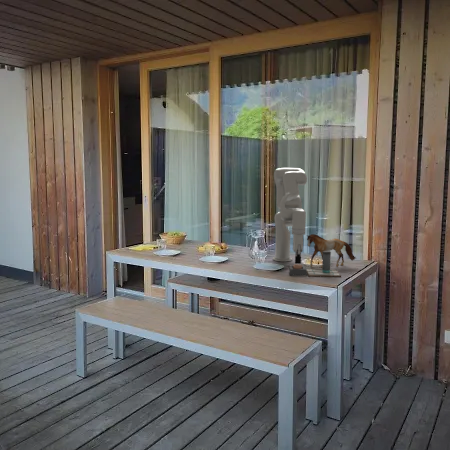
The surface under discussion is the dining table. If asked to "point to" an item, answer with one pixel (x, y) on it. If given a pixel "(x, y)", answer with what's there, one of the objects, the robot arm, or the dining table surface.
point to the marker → (326, 262)
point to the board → (319, 273)
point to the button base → (297, 271)
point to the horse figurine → (329, 247)
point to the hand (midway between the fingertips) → (297, 263)
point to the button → (297, 266)
